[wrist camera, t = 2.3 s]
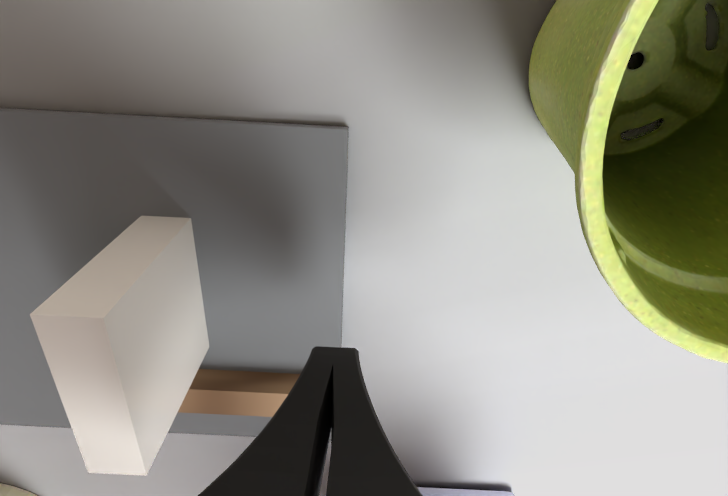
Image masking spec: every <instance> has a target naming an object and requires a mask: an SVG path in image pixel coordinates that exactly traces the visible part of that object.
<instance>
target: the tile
mask: <svg viewBox="0 0 728 496" xmlns="http://www.w3.org/2000/svg"><path fill="white" fill-rule="evenodd" d="M30 317H31V319H32V322H33V325H34V327H35V330H36V333H37V336H38V338H39V341H40V344H41V346H42V349H43V352H44V355H45V357H46V360H47V363H48V365H49V368H50V371H51V374H52V376H53V379H54V382H55V384H56V387H57V390H58V393H59V395H60V398H61V401H62V403H63V406H64V409H65V411H66V414H67V417H68V420H69V422H70V425H71V428H72V430H73V433H74V436H75V439H76V441H77V444H78V447H79V449H80V452H81V455H82V458H83V460H84V463H85V466H86V468H87V471H88V473H101V474H122V475H143V476H147V474H148V472H149V470H150V468H151V466H152V464H153V462H154V460H155V458H156V456H157V454H158V452H159V450H160V447H161V445H162V443H163V441H164V439H165V437H166V435H167V433H168V431H169V429H170V427H171V425H172V423H173V421H174V419H175V417H176V414H177V412H178V410H179V408H180V406H181V404H182V402H183V400H184V398H185V396H186V394H187V392H188V390H189V388H190V386H191V384H192V381H193V379H194V377H195V375H196V373H197V371H198V369H199V367H200V365H201V363H202V361H203V359H204V357H205V355H206V353H207V351H208V348H209V340H208V333H207V326H206V319H205V312H204V305H203V298H202V291H201V284H200V277H199V270H198V263H197V256H196V249H195V243H194V236H193V229H192V222H191V218H179V217H160V216H140V217H139V218H138V219H137V220H136V221H135V222H133V223H132V224H131V225H130V226H129V227H128V228H127V229H126V230H124V231H123V232H122V233H121V234H120V235H119V236H118V237H117V238H115V239H114V240H113V241H112V242H111V243H110V244H109V245H108V246H106V247H105V248H104V249H103V250H102V251H101V252H100V253H98V254H97V255H96V256H95V257H94V258H93V259H92V260H91V261H89V262H88V263H87V264H86V265H85V266H84V267H83V268H82V269H80V270H79V271H78V272H77V273H76V274H75V275H74V276H73V277H71V278H70V279H69V280H68V281H67V282H66V283H65V284H64V285H62V286H61V287H60V288H59V289H58V290H57V291H56V292H54V293H53V294H52V295H51V296H50V297H49V298H48V299H47V300H45V301H44V302H43V303H42V304H41V305H40V306H39V307H38V308H36V309H35V310H34V311H33V312H32V313H31V314H30Z"/></svg>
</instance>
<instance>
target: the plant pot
mask: <svg viewBox="0 0 728 496" xmlns="http://www.w3.org/2000/svg"><path fill="white" fill-rule="evenodd" d="M707 3H709V5H712V6H713V7H714V9H715V11H716V14H717V16H718V20H719V35H718V40H717V43H716V45H715V48H714V49H713V50H710V51H708V50H707V49H706V46H705V43H706V32H707V30H706V29H707V21H706V17H705V16H706V15H707V11H706V10H705V6H706V4H707ZM636 52H640V53H642V54H643V56H644V61H643V64H642V65H641V66H640V67H639V68H637V69H628V67H627V64H628V61H629V59H630V57H631V54H635V53H636ZM529 91H530V97H531V101H532V104H533V107H534V110H535V113H536V115H537V117H538V119H539V121H540V122H541V124H542V126H543V127H544V129H545V130H546V132H547V134H548V135H549V137H550V138H551V140H552V141H553V142H554V144H555V145H556V147H557V148H558V149H559V151H560V152H561V153H562V155H563V156H564V158H565V159H566V161H567V162H568V164H569V165H570V167H571V169H572V170H573V172H574V173H575V192H576V202H577V209H578V213H579V218H580V222H581V227H582V231H583V235H584V237H585V240H586V243H587V245H588V248H589V250H590V253H591V255H592V257H593V259H594V261H595V263H596V265H597V267H598V269H599V271H600V273H601V275H602V276H603V278H604V279H605V281H606V282H607V284H608V285H609V287H610V288H611V289H612V291H613V292H614V294H615V295H616V297H617V298H618V299H619V301H620V302H621V303H622V304H623V305H624V307H625V308H626V309H627V310H628V311H629V312H630V313H631V314H632V315H633V316H634V317H635V318H636V319H637V320H638V321H640V322H641V323H642V324H643V325H644V326H646V327H647V328H648V329H650V330H651V331H652V332H654V333H655V334H657V335H658V336H660V337H662V338H663V339H665V340H667V341H669V342H670V343H673V344H675V345H677V346H679V347H681V348H683V349H685V350H687V351H689V352H691V353H694V354H697V355H698V356H701V357H703V358H706V359H712V360H716V361H720V362H724V363H728V0H556V2H555V4H554V5H553V7H552V8H551V10H550V12H549V14H548V16H547V17H546V19H545V21H544V23H543V25H542V27H541V29H540V31H539V33H538V36H537V38H536V40H535V43H534V46H533V49H532V53H531V58H530V63H529ZM660 118H662V119H663V122H662V123H661V125H660V126H659V128H657V129H656V130H654V131H652V132H650V133H648V134H646V135H643V136H641V137H638V138H635V139H631V140H626V139H622V138H621V136H620V135H621V133H622V132H624V131H627V130H630V129H635V128H640V127H643V126H646V125H648V124H651V123H652V122H654V121H656V120H659V119H660Z"/></svg>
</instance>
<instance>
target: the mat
mask: <svg viewBox="0 0 728 496" xmlns="http://www.w3.org/2000/svg"><path fill="white" fill-rule="evenodd" d="M348 129H349V127H342V126H323V125H305V124H286V123H268V122H250V121H231V120H213V119H195V118H176V117H158V116H139V115H121V114H103V113H84V112H66V111H48V110H29V109H11V108H0V424H1V425H22V426H42V427H63V428H71V425H70V422H69V420H68V417H67V414H66V411H65V409H64V406H63V403H62V401H61V398H60V395H59V393H58V390H57V387H56V384H55V382H54V379H53V376H52V374H51V371H50V368H49V365H48V363H47V360H46V357H45V355H44V352H43V349H42V346H41V344H40V341H39V338H38V336H37V333H36V330H35V327H34V325H33V322H32V319H31V317H30V314H31V313H32V312H33V311H34V310H35V309H36V308H38V307H39V306H40V305H41V304H42V303H43V302H44V301H45V300H47V299H48V298H49V297H50V296H51V295H52V294H53V293H54V292H56V291H57V290H58V289H59V288H60V287H61V286H62V285H64V284H65V283H66V282H67V281H68V280H69V279H70V278H71V277H73V276H74V275H75V274H76V273H77V272H78V271H79V270H80V269H82V268H83V267H84V266H85V265H86V264H87V263H88V262H89V261H91V260H92V259H93V258H94V257H95V256H96V255H97V254H98V253H100V252H101V251H102V250H103V249H104V248H105V247H106V246H108V245H109V244H110V243H111V242H112V241H113V240H114V239H115V238H117V237H118V236H119V235H120V234H121V233H122V232H123V231H124V230H126V229H127V228H128V227H129V226H130V225H131V224H132V223H133V222H135V221H136V220H137V219H138V218H139V217H140V216H160V217H179V218H191V222H192V229H193V236H194V243H195V249H196V256H197V263H198V270H199V277H200V284H201V291H202V298H203V305H204V312H205V319H206V326H207V333H208V340H209V348H208V351H207V353H206V355H205V357H204V359H203V361H202V363H201V365H200V367H199V369H211V370H231V371H251V372H272V373H292V374H301V372H302V370H303V368H304V366H305V364H306V362H307V360H308V358H309V356H310V353H311V351H312V349H313V348H314V347H316V346H320V347H339V348H341V337H342V307H343V277H344V248H345V218H346V188H347V159H348ZM271 418H272V417H263V416H242V415H221V414H201V413H180V412H177V414H176V417H175V419H174V421H173V423H172V425H171V427H170V429H169V431H168V433H189V434H210V435H231V436H251V437H257V436H258V435H259V434H260V432H261V431H262V430H263V429H264V427H265V426H266V425H267V424H268V422H269V421H270V420H271ZM329 440H331V432H330V437H329Z"/></svg>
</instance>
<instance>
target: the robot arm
mask: <svg viewBox="0 0 728 496" xmlns="http://www.w3.org/2000/svg"><path fill="white" fill-rule="evenodd" d="M330 432H331V458H330V467H329V476H328V485H327V493H326V496H514V494H513V493H511V492H508V491H490V490H468V489H447V488H426V487H416V485H415V484H414V482H413V481H412V479H411V478H410V476H409V475H408V473H407V472H406V470H405V469H404V467H403V466H402V464H401V462H400V460H399V459H398V457H397V455H396V454H395V452H394V450H393V448H392V446H391V444H390V443H389V441H388V439H387V437H386V435H385V433H384V431H383V429H382V426H381V424H380V422H379V420H378V417H377V415H376V413H375V410H374V408H373V405H372V403H371V400H370V397H369V395H368V392H367V389H366V386H365V383H364V379H363V376H362V372H361V367H360V362H359V353H358V351H357V350H356V349H355V348H339V347H320V346H316V347H314V348H313V349H312V351H311V353H310V356H309V358H308V360H307V362H306V364H305V366H304V368H303V370H302V372H301V374H300V376H299V378H298V379H297V381H296V383H295V384H294V386H293V387H292V389H291V391H290V392H289V394H288V396H287V397H286V399H285V400H284V401H283V403H282V404H281V406H280V407H279V409H278V410H277V411H276V413H275V414H274V416H273V417H272V418H271V420H270V421H269V422H268V424H267V425H266V426H265V427H264V429H263V430H262V431H261V432H260V434H259V435H258V436H257V437H256V438H255V440H254V441H253V442H252V443H251V444H250V445H249V446H248V447H247V449H246V450H245V451H244V452H243V453H242V454H241V455H240V456H239V457H238V458H237V459H236V460H235V461H234V462H233V463H232V464H231V465H230V466H229V467H228V468H227V469H226V470H225V471H224V472H223V473H222V474H221V475H220V476H219V477H218V478H217V479H216V480H215V481H213V482H212V483H211V484H210V485H209V486H208V487H207V488H206V489H205V490H204V491H203V492H201V493H200V494H199V495H198V496H319V491H320V486H321V480H322V475H323V470H324V464H325V459H326V454H327V448H328V443H329V437H330Z"/></svg>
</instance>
